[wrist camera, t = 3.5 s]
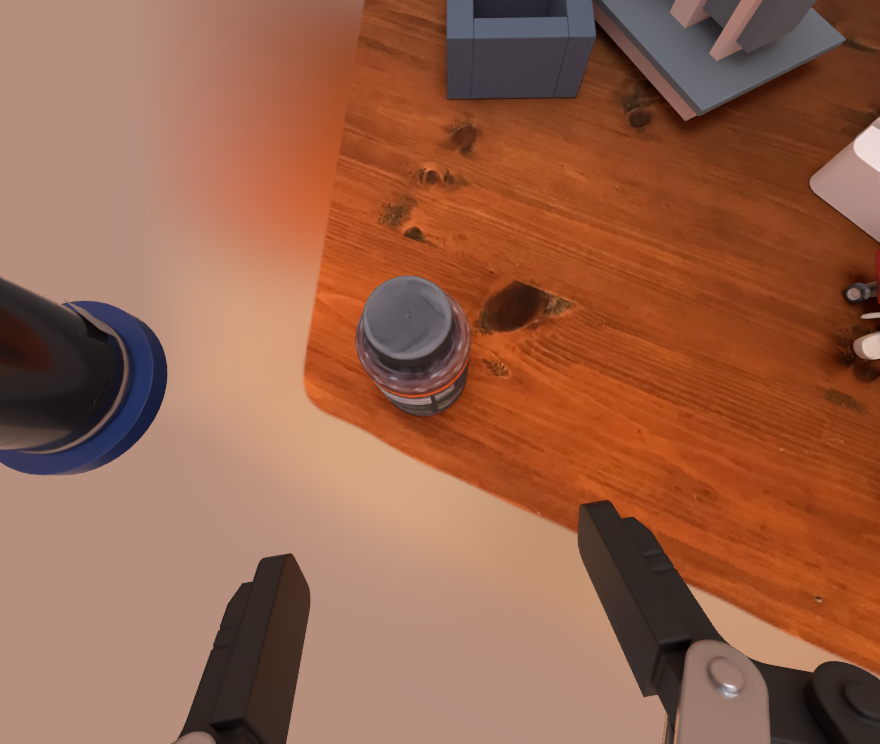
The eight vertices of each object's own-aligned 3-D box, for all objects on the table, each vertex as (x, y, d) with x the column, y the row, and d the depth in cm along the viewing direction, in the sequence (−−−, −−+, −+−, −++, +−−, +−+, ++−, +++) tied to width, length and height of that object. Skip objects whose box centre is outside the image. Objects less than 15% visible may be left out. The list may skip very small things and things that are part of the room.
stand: (446, 99, 35) (446, 38, 30) (447, 4, 38) (447, -65, 33) (576, 97, 35) (596, 36, 30) (567, 2, 38) (584, -68, 33)
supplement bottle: (407, 323, 30) (382, 232, 19) (480, 358, 29) (499, 285, 18) (366, 394, 29) (314, 341, 18) (442, 433, 28) (437, 404, 17)
